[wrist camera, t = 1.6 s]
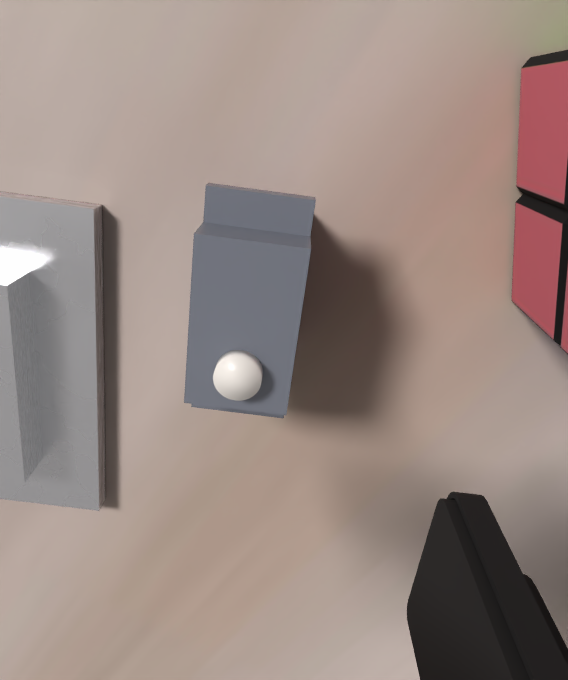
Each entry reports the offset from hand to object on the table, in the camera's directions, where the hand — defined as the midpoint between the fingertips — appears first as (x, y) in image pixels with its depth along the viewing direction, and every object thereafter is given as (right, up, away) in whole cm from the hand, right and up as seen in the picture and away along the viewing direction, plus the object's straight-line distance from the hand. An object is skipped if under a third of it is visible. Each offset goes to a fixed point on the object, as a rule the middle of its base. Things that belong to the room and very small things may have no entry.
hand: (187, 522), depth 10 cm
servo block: (+1, +7, +14) cm, 15 cm away
